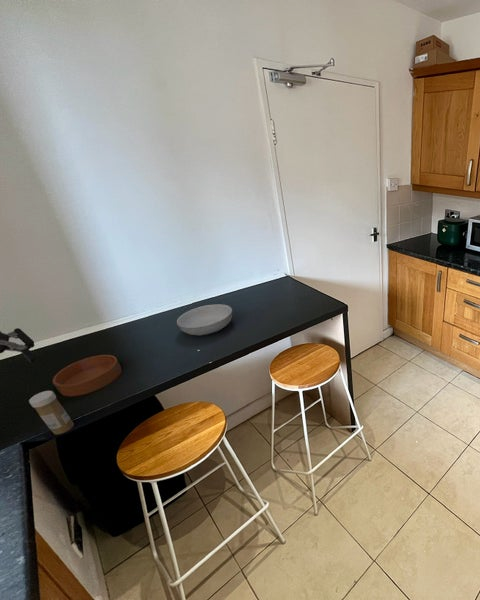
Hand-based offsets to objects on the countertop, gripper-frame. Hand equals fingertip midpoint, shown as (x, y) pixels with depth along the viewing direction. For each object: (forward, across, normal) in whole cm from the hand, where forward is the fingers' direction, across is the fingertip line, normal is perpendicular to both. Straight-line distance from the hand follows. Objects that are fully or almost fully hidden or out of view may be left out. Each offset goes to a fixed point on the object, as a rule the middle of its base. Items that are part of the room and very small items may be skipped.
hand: (11, 370), depth 85 cm
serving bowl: (+12, +54, +14) cm, 58 cm away
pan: (+7, +15, +19) cm, 25 cm away
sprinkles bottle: (+21, 0, +5) cm, 22 cm away
